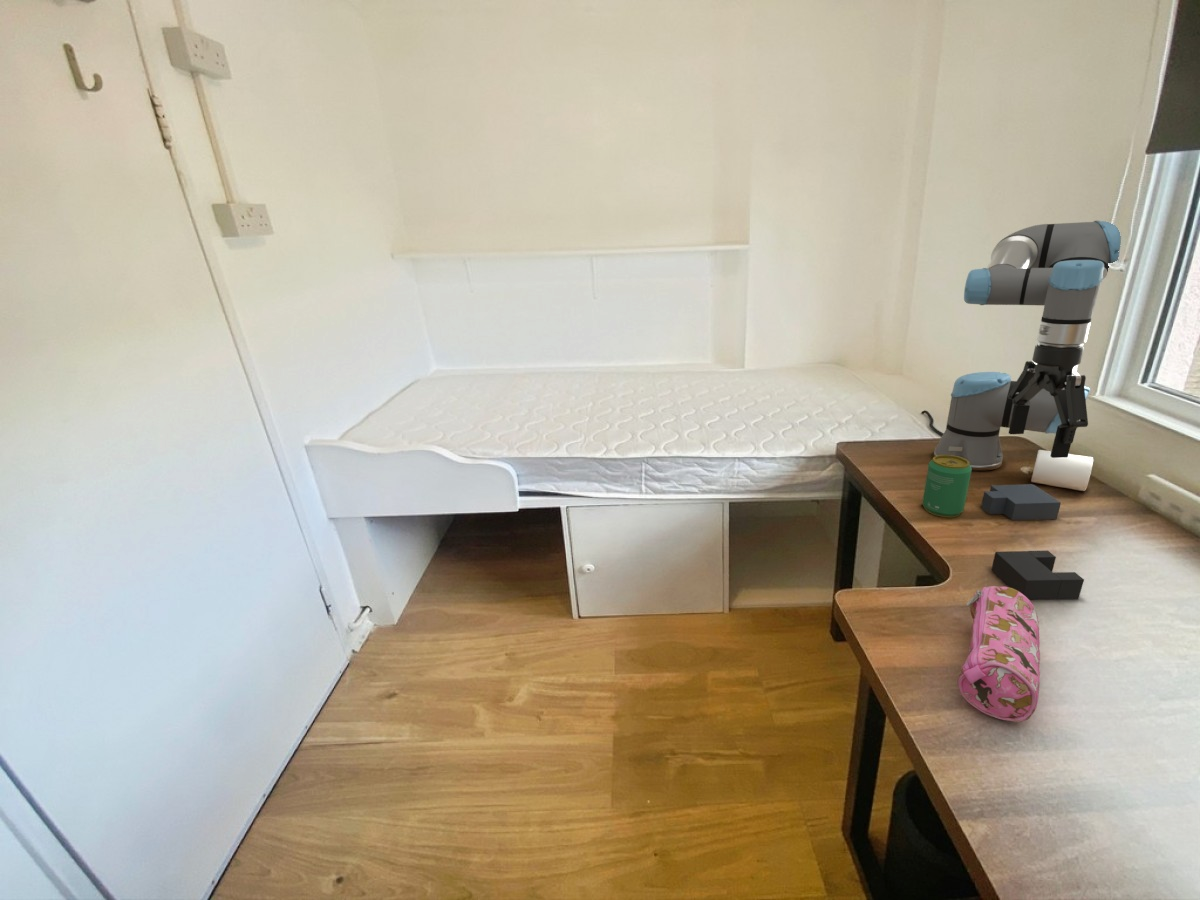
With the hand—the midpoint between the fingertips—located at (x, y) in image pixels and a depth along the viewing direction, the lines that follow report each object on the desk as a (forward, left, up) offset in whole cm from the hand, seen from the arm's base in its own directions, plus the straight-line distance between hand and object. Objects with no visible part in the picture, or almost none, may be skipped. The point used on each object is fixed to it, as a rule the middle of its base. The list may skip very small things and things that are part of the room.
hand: (1036, 444), depth 116 cm
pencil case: (+48, -32, -16) cm, 60 cm away
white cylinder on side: (-13, +16, -16) cm, 26 cm away
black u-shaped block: (+27, -14, -16) cm, 34 cm away
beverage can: (-1, -16, -16) cm, 22 cm away
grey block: (0, -1, -15) cm, 16 cm away
